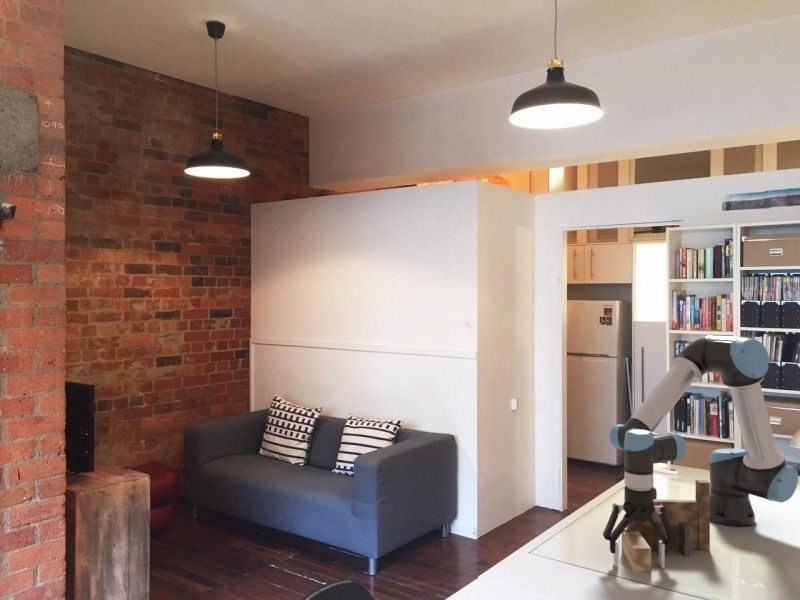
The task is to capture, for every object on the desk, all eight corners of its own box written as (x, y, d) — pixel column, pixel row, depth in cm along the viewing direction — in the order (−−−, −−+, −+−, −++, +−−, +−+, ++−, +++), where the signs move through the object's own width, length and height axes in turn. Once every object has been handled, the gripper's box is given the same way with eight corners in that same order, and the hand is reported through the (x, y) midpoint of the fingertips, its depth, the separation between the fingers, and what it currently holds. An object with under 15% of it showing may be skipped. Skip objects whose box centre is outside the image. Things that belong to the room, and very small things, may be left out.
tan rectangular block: (638, 553, 193) (638, 529, 193) (651, 572, 180) (651, 547, 180) (621, 552, 194) (621, 529, 194) (633, 571, 181) (633, 546, 180)
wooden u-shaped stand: (706, 546, 198) (706, 479, 197) (715, 556, 190) (715, 487, 190) (626, 544, 200) (626, 478, 199) (633, 554, 192) (632, 485, 192)
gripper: (679, 484, 187) (678, 561, 187) (591, 482, 189) (591, 558, 189) (688, 492, 179) (688, 572, 179) (597, 490, 181) (597, 569, 182)
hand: (638, 565), depth 184 cm, fingers open, 12 cm apart
